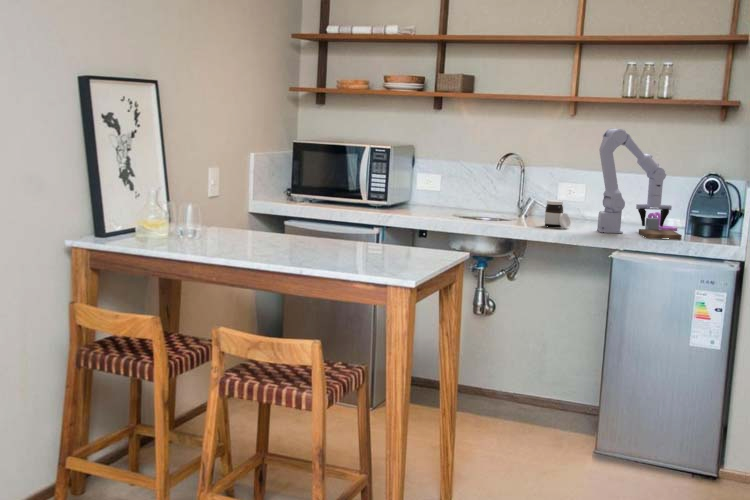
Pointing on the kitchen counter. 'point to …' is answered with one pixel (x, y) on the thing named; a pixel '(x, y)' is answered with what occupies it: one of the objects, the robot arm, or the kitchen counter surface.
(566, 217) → the spread jar
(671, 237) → the walnut board
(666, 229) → the bracket
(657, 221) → the slate block
